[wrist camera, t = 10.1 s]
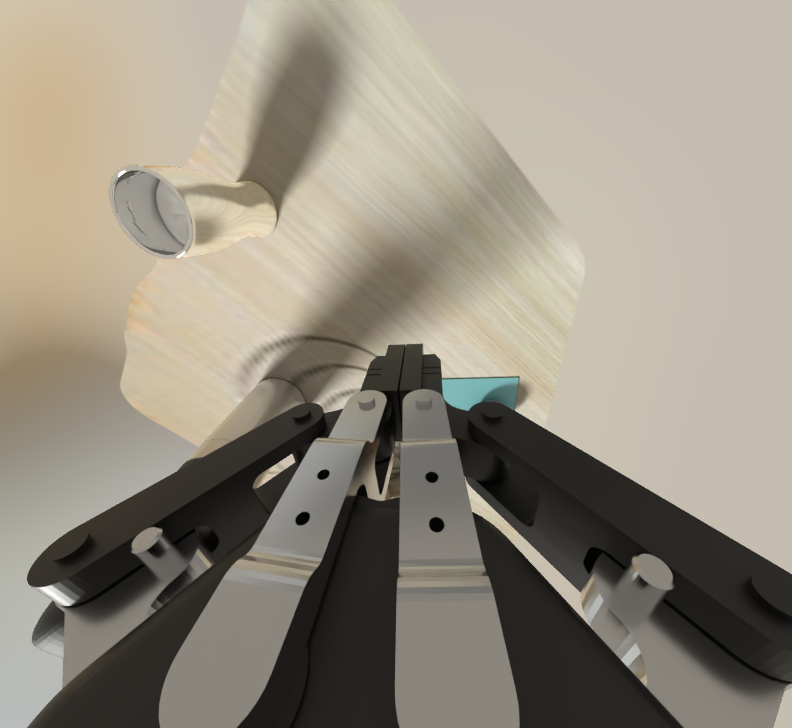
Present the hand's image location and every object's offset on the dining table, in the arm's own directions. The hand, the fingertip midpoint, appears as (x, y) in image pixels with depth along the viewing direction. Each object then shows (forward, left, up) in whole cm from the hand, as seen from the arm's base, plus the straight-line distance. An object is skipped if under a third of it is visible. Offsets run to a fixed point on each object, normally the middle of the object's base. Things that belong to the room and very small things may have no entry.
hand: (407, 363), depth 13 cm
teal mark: (-10, -25, -27) cm, 38 cm away
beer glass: (-12, +18, -27) cm, 35 cm away
